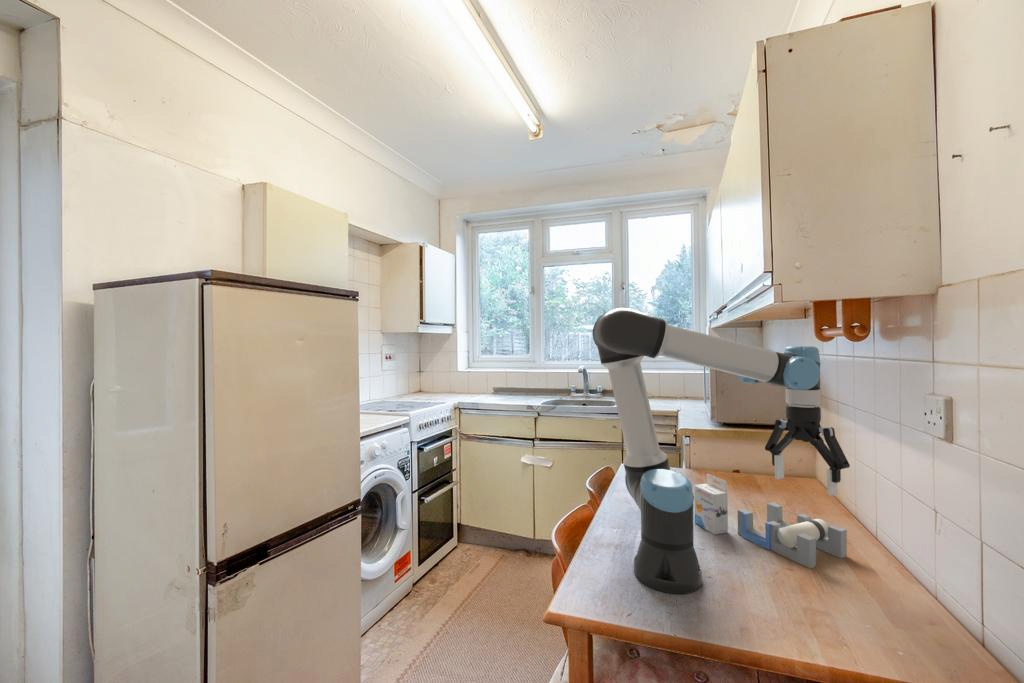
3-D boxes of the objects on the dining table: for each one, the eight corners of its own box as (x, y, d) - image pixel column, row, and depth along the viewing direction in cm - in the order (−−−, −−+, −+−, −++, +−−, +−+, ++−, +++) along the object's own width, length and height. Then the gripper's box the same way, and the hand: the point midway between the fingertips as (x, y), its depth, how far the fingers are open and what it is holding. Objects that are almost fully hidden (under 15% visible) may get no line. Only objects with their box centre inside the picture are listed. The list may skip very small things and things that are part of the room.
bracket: (807, 568, 103) (807, 540, 103) (736, 534, 121) (736, 510, 121) (848, 555, 108) (848, 529, 108) (774, 524, 127) (774, 502, 127)
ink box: (693, 523, 129) (693, 474, 129) (707, 520, 130) (706, 472, 130) (714, 535, 121) (714, 483, 121) (728, 532, 122) (728, 481, 122)
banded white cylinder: (795, 551, 106) (795, 532, 106) (777, 543, 111) (777, 524, 111) (830, 541, 111) (830, 522, 111) (811, 533, 116) (811, 515, 116)
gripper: (866, 410, 101) (868, 500, 101) (768, 398, 124) (769, 471, 124) (846, 413, 98) (848, 505, 98) (750, 400, 121) (751, 474, 121)
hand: (804, 486), depth 111 cm, fingers open, 13 cm apart
